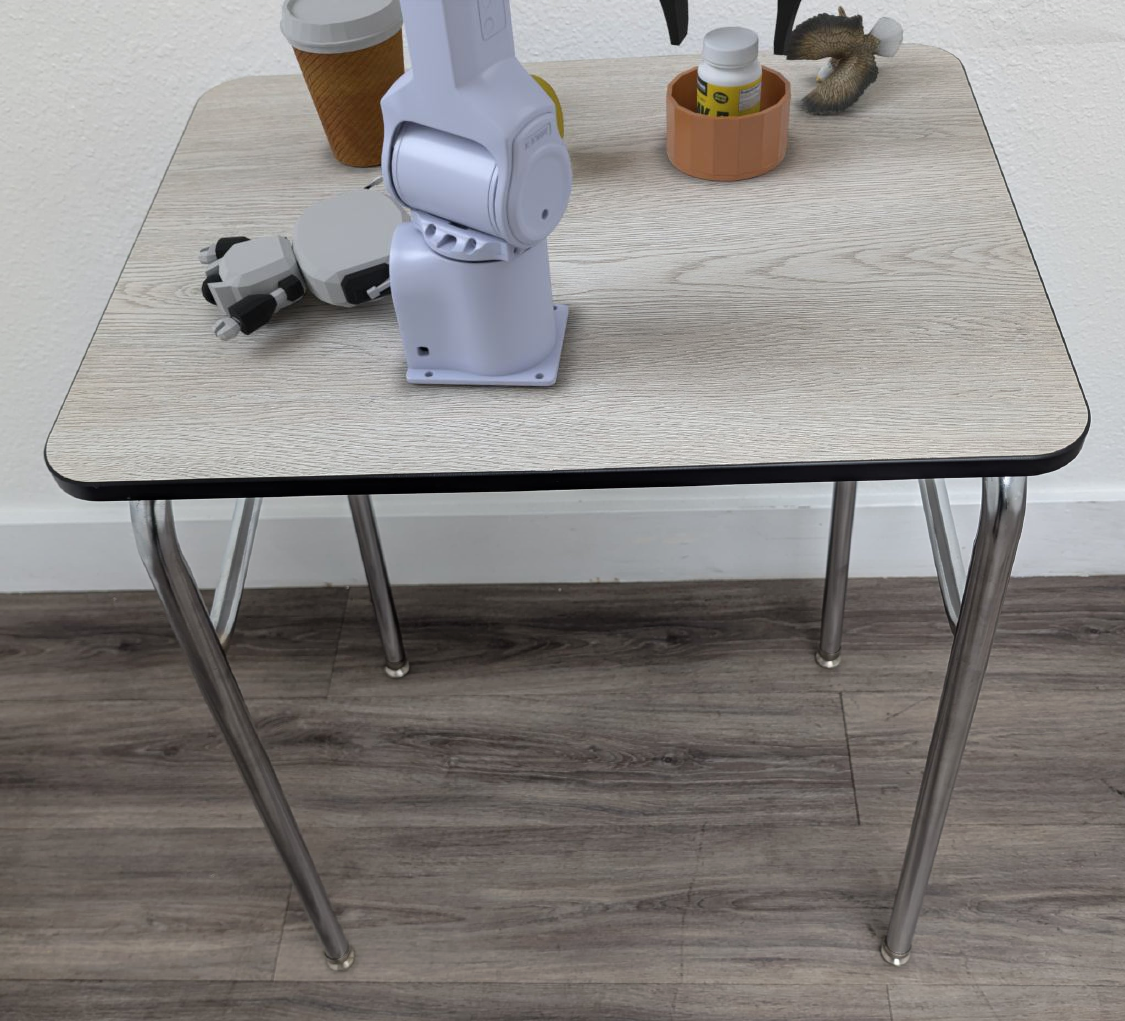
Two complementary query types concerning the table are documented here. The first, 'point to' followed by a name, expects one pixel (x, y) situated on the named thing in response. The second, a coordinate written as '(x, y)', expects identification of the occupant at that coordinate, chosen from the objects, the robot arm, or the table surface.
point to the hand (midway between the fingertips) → (729, 44)
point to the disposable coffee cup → (348, 68)
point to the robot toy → (305, 261)
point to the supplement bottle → (729, 73)
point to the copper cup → (727, 131)
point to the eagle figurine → (842, 56)
